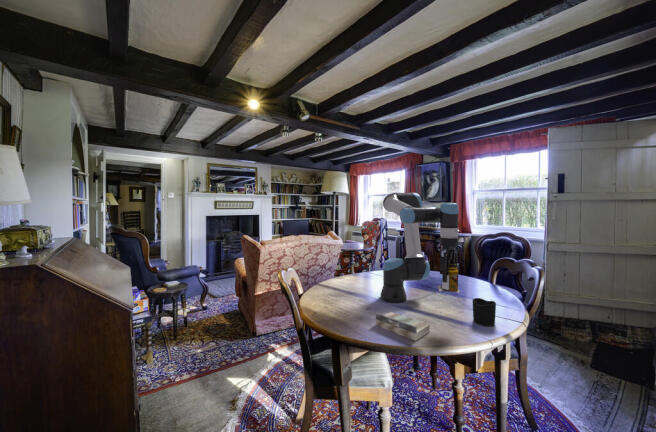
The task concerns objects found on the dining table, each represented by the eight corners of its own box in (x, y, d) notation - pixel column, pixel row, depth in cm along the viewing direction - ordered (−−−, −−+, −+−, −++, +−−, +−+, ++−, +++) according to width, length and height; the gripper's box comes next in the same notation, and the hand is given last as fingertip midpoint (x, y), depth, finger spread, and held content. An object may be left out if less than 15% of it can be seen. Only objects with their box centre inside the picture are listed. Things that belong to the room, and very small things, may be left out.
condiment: (460, 293, 117) (460, 265, 117) (439, 291, 120) (439, 264, 119) (457, 288, 124) (457, 262, 123) (437, 286, 127) (438, 261, 126)
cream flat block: (375, 325, 123) (375, 313, 122) (390, 317, 131) (390, 306, 131) (414, 341, 108) (414, 327, 108) (429, 331, 116) (429, 318, 116)
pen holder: (487, 318, 129) (487, 297, 129) (500, 326, 120) (500, 304, 119) (468, 318, 129) (468, 298, 128) (480, 327, 119) (480, 305, 119)
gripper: (448, 239, 112) (447, 294, 113) (466, 235, 125) (465, 284, 126) (431, 238, 117) (430, 290, 118) (449, 234, 130) (449, 281, 131)
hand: (448, 287), depth 122 cm, fingers closed on condiment, 6 cm apart
